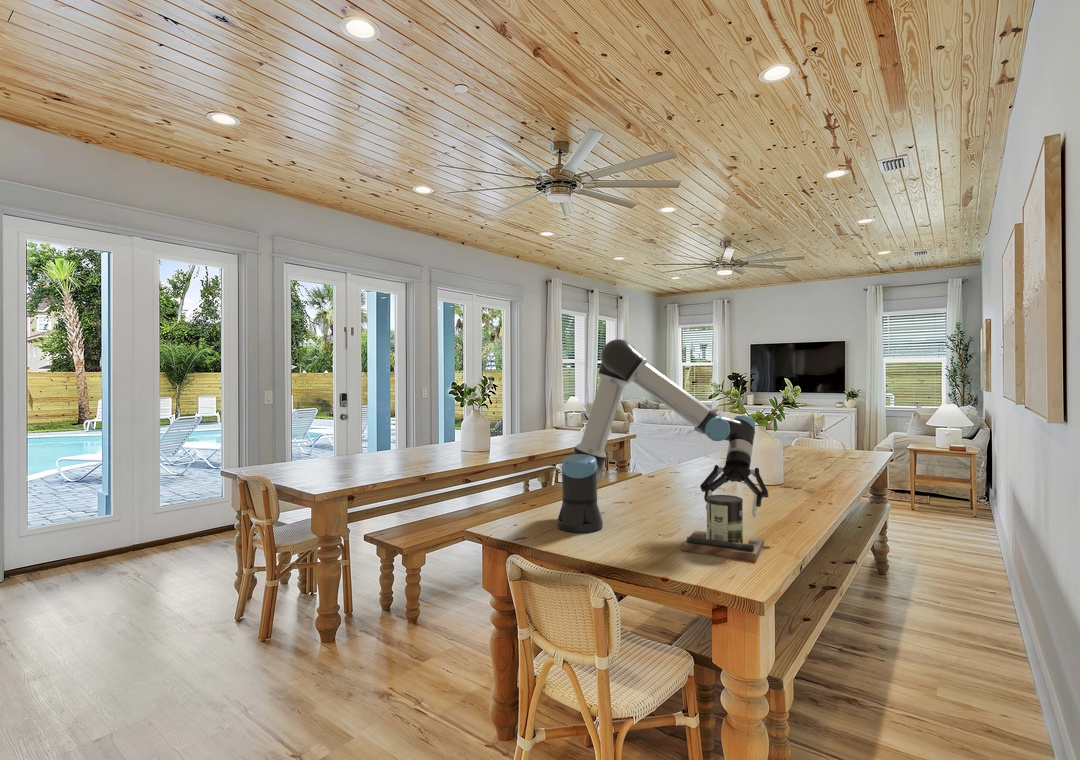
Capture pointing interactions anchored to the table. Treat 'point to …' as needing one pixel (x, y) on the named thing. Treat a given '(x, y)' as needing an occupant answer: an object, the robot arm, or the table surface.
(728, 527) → the coffee can
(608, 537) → the table surface
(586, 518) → the robot arm
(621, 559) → the table surface
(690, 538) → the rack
